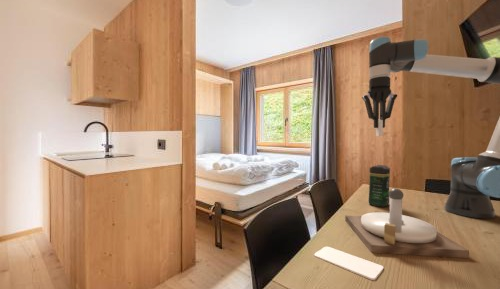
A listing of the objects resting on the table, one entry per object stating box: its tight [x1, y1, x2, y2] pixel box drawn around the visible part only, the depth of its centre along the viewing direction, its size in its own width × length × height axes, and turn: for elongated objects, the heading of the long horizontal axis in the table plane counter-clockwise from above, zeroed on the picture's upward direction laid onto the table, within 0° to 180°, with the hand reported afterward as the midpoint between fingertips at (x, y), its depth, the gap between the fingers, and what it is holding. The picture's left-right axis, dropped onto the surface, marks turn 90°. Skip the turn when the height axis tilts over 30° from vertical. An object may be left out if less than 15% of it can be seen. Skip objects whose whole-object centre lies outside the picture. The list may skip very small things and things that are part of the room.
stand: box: [344, 215, 470, 259], centre depth 72 cm, size 24×24×7 cm
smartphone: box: [314, 246, 384, 281], centre depth 57 cm, size 7×1×15 cm
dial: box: [360, 187, 438, 243], centre depth 72 cm, size 20×20×14 cm
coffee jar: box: [368, 164, 391, 208], centre depth 107 cm, size 10×8×19 cm
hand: (379, 136), depth 93 cm, fingers closed
